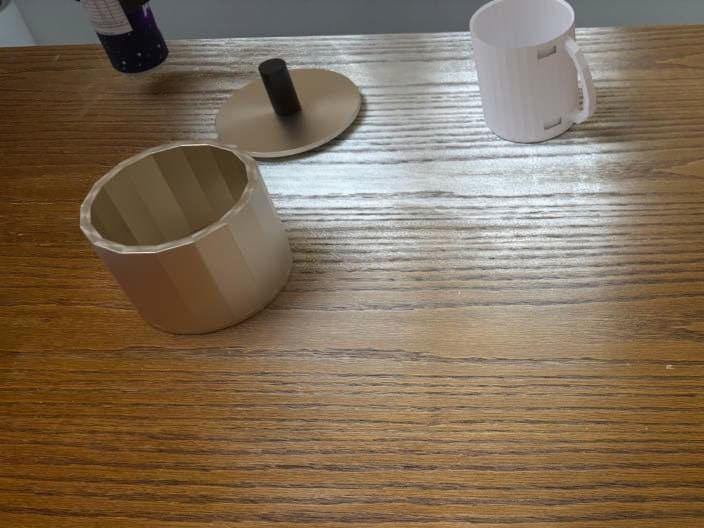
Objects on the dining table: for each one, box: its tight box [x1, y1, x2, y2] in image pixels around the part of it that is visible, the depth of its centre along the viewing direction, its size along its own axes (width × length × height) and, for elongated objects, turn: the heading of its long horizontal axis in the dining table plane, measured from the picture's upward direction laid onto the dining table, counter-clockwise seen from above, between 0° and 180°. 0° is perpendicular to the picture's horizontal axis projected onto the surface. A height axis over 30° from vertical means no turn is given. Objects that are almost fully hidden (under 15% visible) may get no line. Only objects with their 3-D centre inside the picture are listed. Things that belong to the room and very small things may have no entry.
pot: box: [79, 138, 294, 336], centre depth 66 cm, size 13×13×8 cm
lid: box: [214, 57, 362, 158], centre depth 80 cm, size 14×14×6 cm
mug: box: [468, 0, 597, 144], centre depth 75 cm, size 12×9×9 cm
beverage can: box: [79, 0, 170, 78], centre depth 82 cm, size 6×6×12 cm
